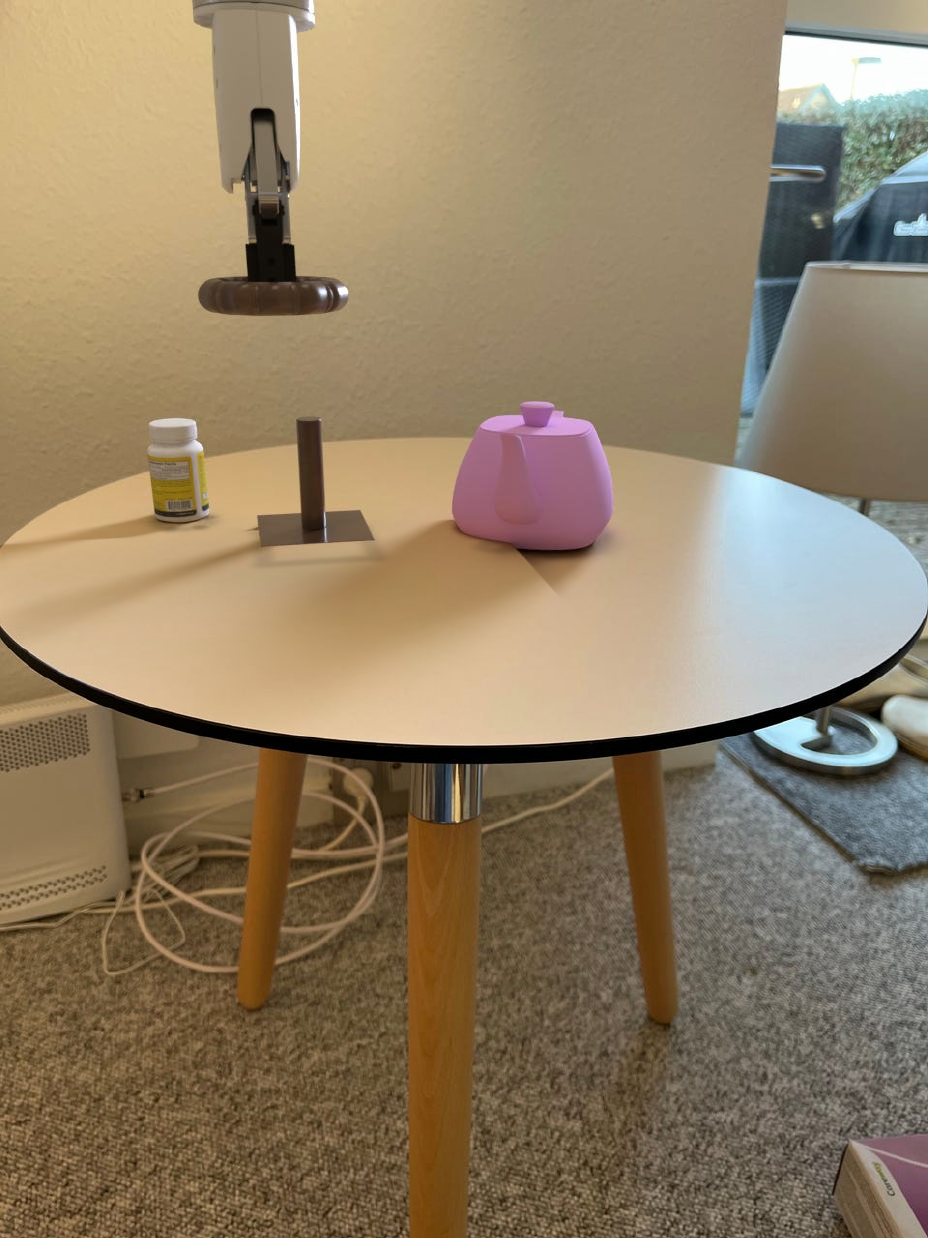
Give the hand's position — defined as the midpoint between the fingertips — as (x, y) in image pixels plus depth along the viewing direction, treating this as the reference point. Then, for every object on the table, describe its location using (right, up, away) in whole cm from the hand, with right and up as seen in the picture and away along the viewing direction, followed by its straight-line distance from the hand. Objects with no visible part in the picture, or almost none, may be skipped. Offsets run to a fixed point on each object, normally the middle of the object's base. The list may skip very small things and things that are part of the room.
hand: (273, 303), depth 68 cm
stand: (+1, -15, +14) cm, 21 cm away
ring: (+1, -1, -4) cm, 4 cm away
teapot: (+19, -15, +15) cm, 29 cm away
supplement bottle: (-12, -13, +20) cm, 27 cm away
